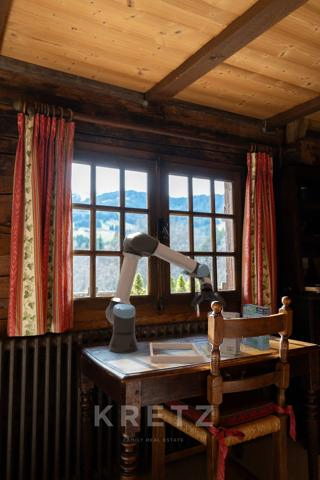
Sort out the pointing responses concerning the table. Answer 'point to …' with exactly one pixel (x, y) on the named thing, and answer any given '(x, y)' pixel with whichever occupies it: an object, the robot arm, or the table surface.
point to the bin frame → (175, 358)
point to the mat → (208, 353)
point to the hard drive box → (229, 344)
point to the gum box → (256, 311)
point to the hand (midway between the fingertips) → (210, 315)
